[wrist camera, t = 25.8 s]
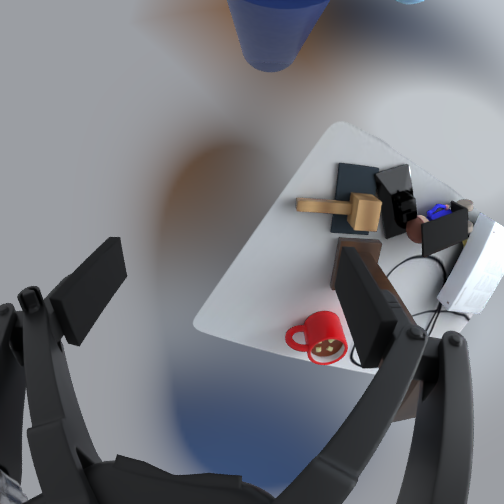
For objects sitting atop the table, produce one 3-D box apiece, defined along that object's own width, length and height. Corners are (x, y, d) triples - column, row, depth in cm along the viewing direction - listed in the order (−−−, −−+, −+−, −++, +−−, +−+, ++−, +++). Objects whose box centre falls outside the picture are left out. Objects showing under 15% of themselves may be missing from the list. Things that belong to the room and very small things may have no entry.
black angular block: (373, 173, 42) (385, 179, 38) (408, 163, 41) (422, 168, 37) (385, 238, 48) (396, 249, 43) (417, 226, 47) (430, 236, 43)
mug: (285, 311, 56) (287, 338, 49) (342, 310, 55) (352, 336, 48) (282, 339, 59) (284, 366, 52) (336, 338, 59) (343, 364, 52)
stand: (329, 285, 53) (374, 429, 25) (338, 237, 48) (410, 376, 21) (367, 286, 53) (429, 417, 25) (379, 239, 48) (469, 364, 21)
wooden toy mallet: (294, 217, 46) (297, 227, 42) (297, 187, 44) (300, 194, 40) (367, 222, 46) (376, 231, 42) (372, 194, 44) (382, 202, 40)
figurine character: (454, 189, 44) (399, 211, 45) (480, 200, 37) (425, 226, 38) (455, 220, 47) (402, 244, 47) (479, 233, 40) (426, 262, 41)
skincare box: (505, 229, 46) (479, 210, 42) (520, 240, 41) (498, 222, 37) (467, 302, 55) (435, 297, 51) (479, 315, 50) (448, 313, 46)
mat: (338, 162, 43) (339, 163, 42) (377, 167, 42) (379, 168, 42) (330, 231, 48) (331, 232, 47) (367, 233, 48) (368, 235, 47)
